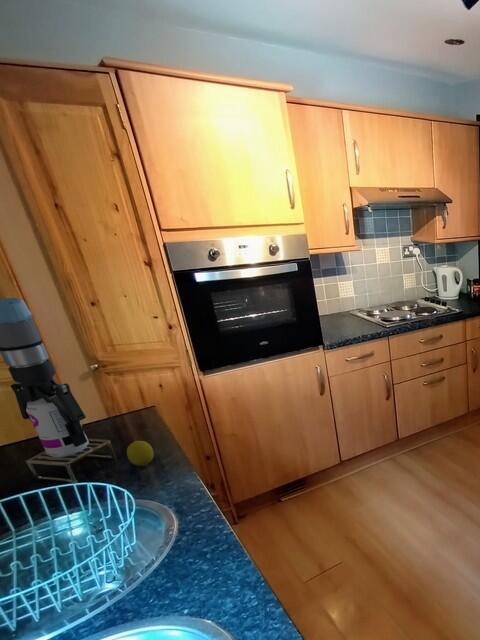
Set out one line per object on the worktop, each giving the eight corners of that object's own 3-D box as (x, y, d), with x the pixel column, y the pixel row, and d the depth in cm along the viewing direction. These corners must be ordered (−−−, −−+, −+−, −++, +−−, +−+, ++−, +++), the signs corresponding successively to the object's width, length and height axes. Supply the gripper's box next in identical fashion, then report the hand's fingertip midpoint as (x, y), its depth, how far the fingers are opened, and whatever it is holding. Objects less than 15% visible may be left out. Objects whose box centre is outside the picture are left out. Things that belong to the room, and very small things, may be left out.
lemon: (156, 457, 129) (147, 433, 126) (158, 466, 125) (148, 441, 122) (132, 464, 126) (122, 440, 123) (133, 473, 122) (123, 448, 119)
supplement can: (47, 462, 115) (21, 409, 108) (49, 448, 120) (25, 398, 114) (89, 451, 119) (66, 400, 113) (90, 438, 125) (68, 389, 119)
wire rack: (36, 483, 118) (24, 461, 115) (81, 458, 129) (72, 437, 126) (77, 487, 117) (66, 464, 114) (119, 461, 127) (110, 440, 125)
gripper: (82, 359, 112) (114, 438, 121) (9, 355, 114) (46, 433, 123) (51, 370, 105) (87, 453, 114) (-27, 366, 107) (15, 447, 117)
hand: (66, 442), depth 119 cm, fingers closed on supplement can, 8 cm apart
